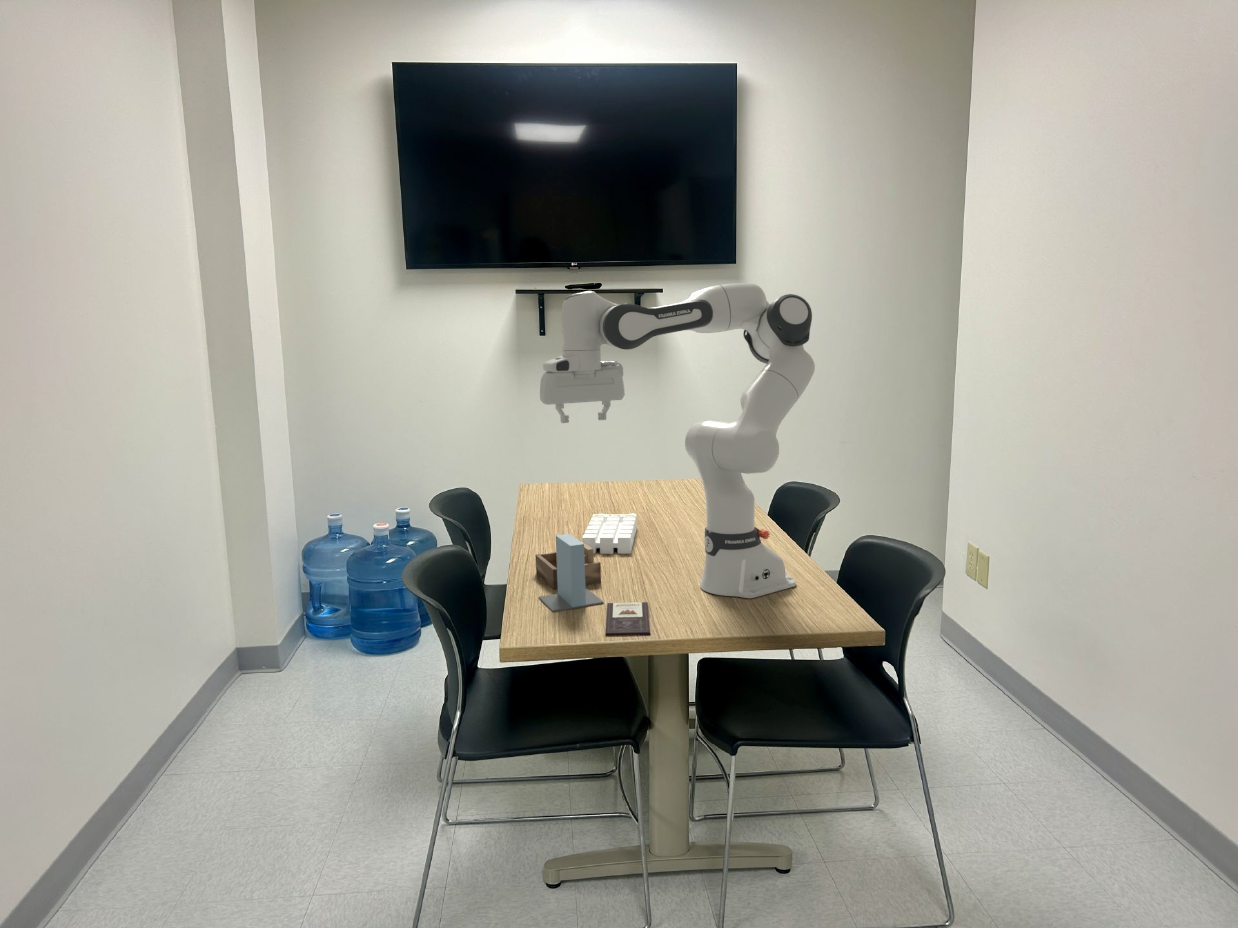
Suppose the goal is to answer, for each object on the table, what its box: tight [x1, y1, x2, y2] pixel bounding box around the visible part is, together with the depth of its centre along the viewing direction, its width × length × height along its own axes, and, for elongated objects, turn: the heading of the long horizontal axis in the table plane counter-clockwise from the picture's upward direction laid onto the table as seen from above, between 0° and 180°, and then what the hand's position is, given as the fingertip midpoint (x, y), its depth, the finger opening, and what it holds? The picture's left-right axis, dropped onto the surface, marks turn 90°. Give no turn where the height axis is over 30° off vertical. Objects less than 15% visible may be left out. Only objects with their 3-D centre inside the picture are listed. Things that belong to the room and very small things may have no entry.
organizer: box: [581, 513, 638, 555], centre depth 240 cm, size 13×5×35 cm
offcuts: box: [579, 540, 595, 564], centre depth 203 cm, size 4×10×6 cm, turn 23°
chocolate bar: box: [605, 601, 651, 637], centre depth 174 cm, size 9×1×18 cm
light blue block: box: [555, 533, 587, 607], centre depth 185 cm, size 3×10×14 cm, turn 23°
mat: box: [538, 588, 605, 613], centre depth 186 cm, size 12×10×1 cm
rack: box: [535, 551, 602, 591], centre depth 202 cm, size 12×14×5 cm
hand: (583, 421), depth 194 cm, fingers open, 8 cm apart
